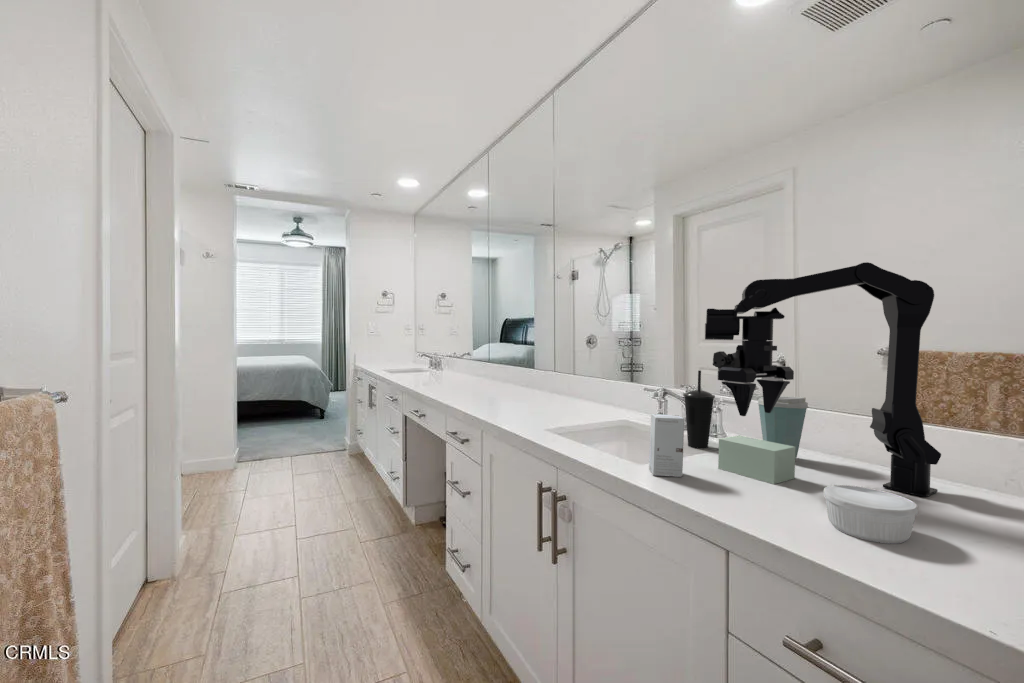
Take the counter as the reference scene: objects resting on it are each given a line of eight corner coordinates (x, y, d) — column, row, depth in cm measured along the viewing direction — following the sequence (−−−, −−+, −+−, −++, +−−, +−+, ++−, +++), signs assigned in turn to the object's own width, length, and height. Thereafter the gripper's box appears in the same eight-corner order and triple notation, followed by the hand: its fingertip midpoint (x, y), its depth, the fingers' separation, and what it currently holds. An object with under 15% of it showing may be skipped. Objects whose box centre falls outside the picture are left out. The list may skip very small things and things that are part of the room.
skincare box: (653, 476, 93) (654, 417, 93) (648, 469, 97) (649, 413, 97) (684, 477, 93) (685, 418, 92) (677, 470, 97) (678, 414, 97)
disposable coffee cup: (748, 457, 109) (750, 395, 109) (765, 450, 117) (766, 391, 117) (799, 467, 102) (800, 400, 101) (813, 458, 109) (814, 396, 109)
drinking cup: (717, 451, 115) (718, 372, 115) (685, 449, 116) (686, 371, 116) (710, 444, 122) (711, 370, 122) (680, 442, 124) (681, 369, 124)
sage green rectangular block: (739, 463, 103) (739, 435, 103) (794, 478, 93) (795, 446, 93) (718, 468, 99) (718, 438, 99) (773, 484, 89) (774, 451, 89)
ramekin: (889, 520, 72) (890, 487, 72) (937, 552, 61) (938, 514, 61) (810, 513, 75) (811, 481, 75) (843, 543, 64) (844, 505, 64)
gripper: (746, 340, 108) (744, 406, 108) (695, 339, 98) (694, 411, 98) (795, 341, 98) (794, 413, 98) (745, 340, 88) (743, 420, 89)
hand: (755, 414), depth 96 cm, fingers open, 9 cm apart
